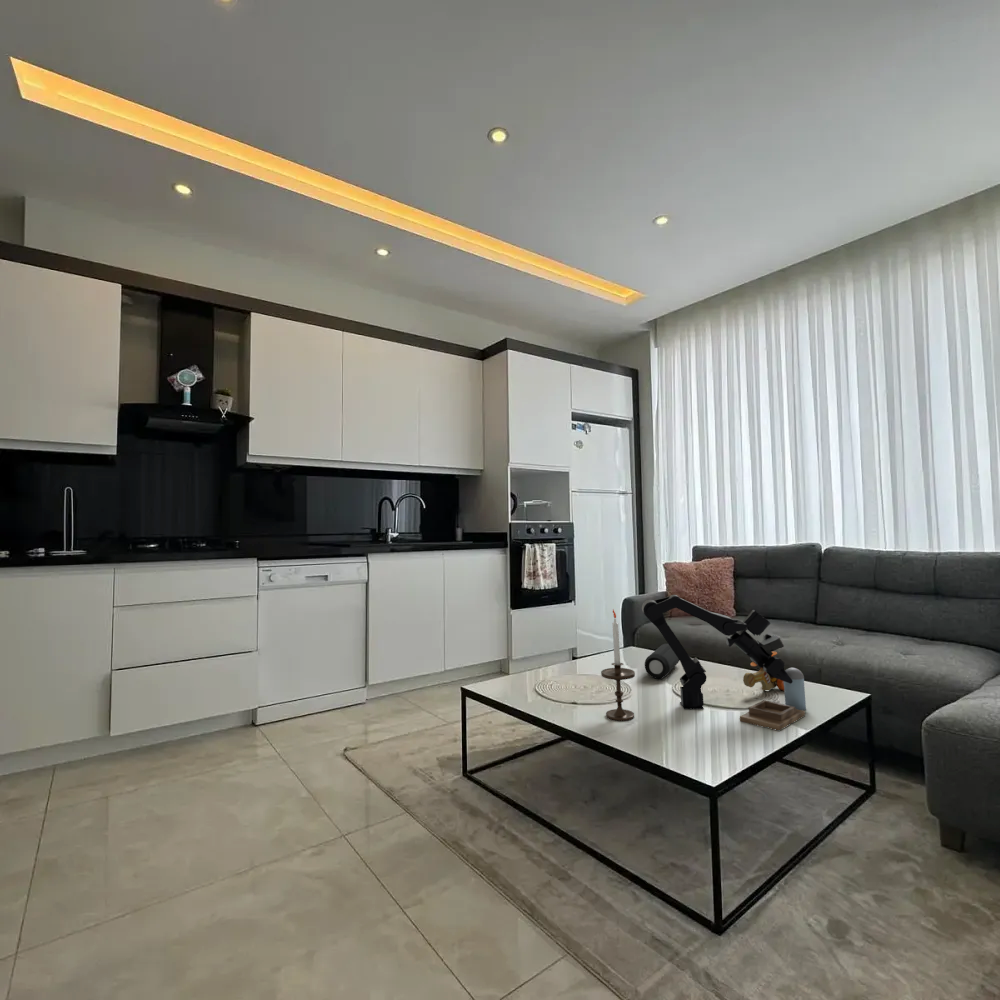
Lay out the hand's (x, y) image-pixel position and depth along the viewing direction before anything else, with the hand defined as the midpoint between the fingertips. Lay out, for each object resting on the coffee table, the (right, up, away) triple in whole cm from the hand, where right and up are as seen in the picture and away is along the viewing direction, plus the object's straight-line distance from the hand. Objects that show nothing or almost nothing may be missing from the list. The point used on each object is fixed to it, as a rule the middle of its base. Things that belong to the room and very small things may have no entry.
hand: (786, 678), depth 184 cm
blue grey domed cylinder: (+3, -9, -1) cm, 10 cm away
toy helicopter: (+1, -11, +17) cm, 20 cm away
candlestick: (-56, -12, -2) cm, 57 cm away
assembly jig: (-9, -9, -10) cm, 16 cm away
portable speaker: (-27, -13, +48) cm, 57 cm away
